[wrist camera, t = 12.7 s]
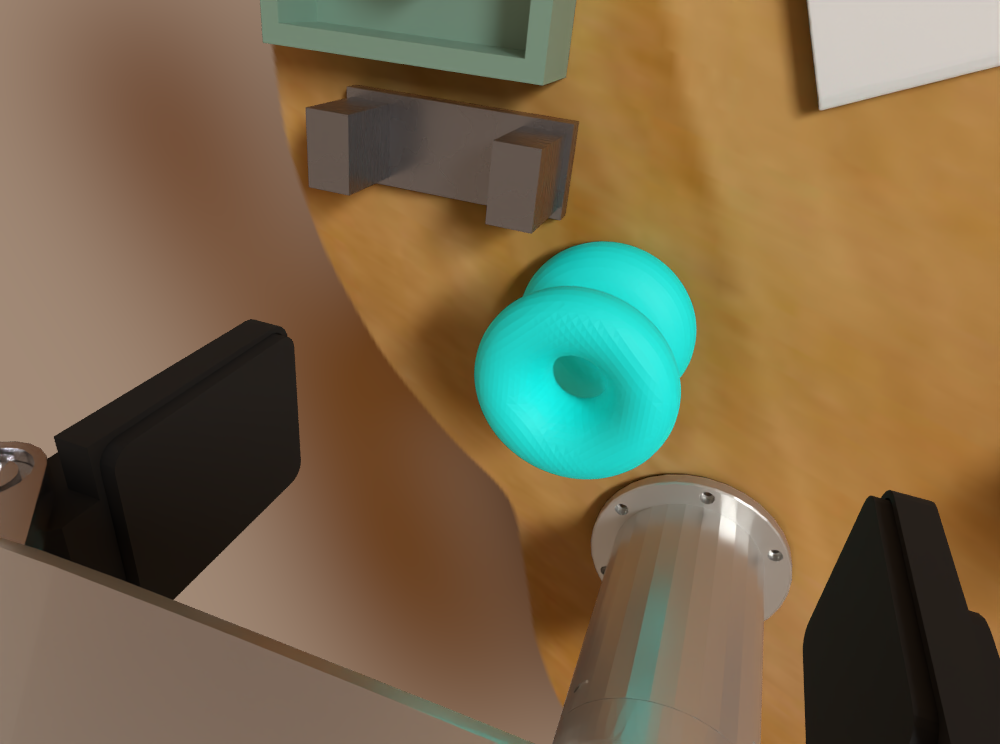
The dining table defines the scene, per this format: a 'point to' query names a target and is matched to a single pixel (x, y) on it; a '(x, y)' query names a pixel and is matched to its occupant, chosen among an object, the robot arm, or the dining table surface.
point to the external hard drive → (898, 44)
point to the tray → (433, 33)
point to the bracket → (444, 152)
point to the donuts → (588, 361)
